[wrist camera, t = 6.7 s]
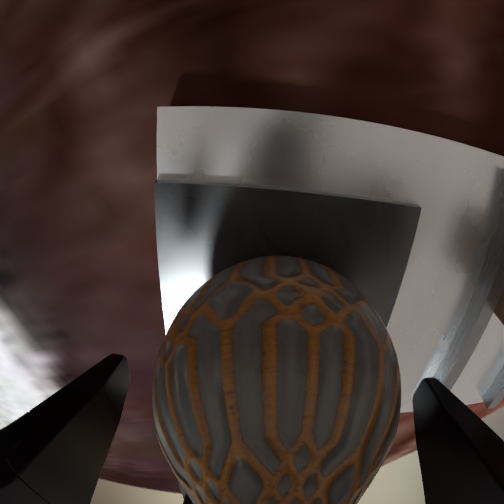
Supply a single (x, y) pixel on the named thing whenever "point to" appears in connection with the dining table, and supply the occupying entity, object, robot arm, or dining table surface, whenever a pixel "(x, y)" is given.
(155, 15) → the dining table surface
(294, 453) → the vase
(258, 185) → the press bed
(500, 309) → the brown block
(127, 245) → the dining table surface
